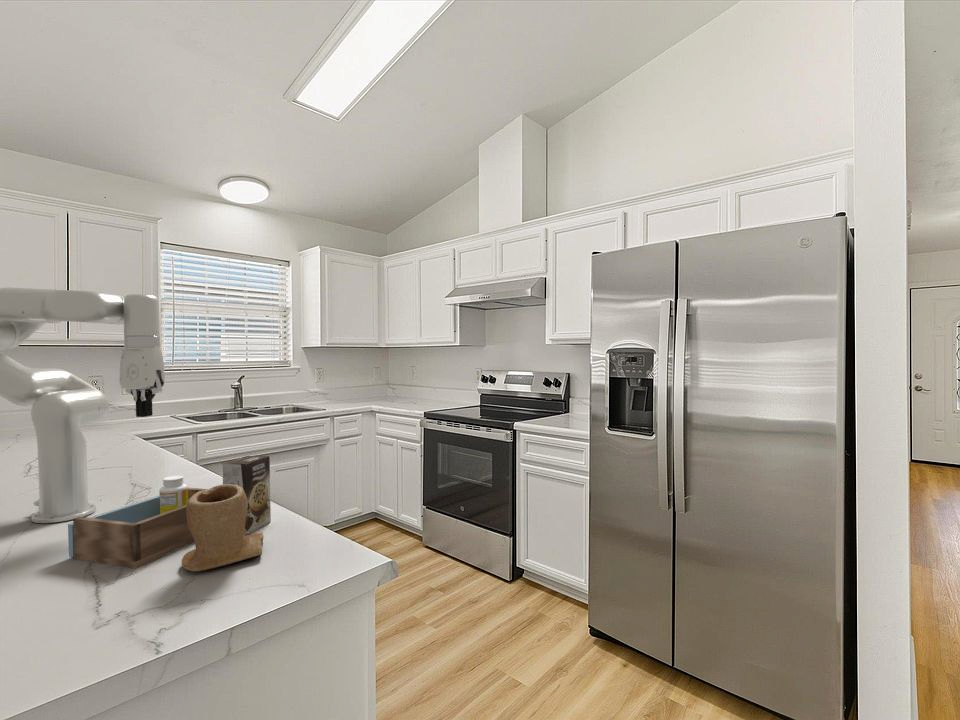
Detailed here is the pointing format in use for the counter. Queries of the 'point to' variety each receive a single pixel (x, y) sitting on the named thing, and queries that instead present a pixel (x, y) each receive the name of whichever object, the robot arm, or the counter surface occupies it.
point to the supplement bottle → (173, 493)
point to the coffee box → (252, 487)
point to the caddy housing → (132, 538)
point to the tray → (123, 516)
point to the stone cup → (219, 528)
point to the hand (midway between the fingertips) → (144, 416)
